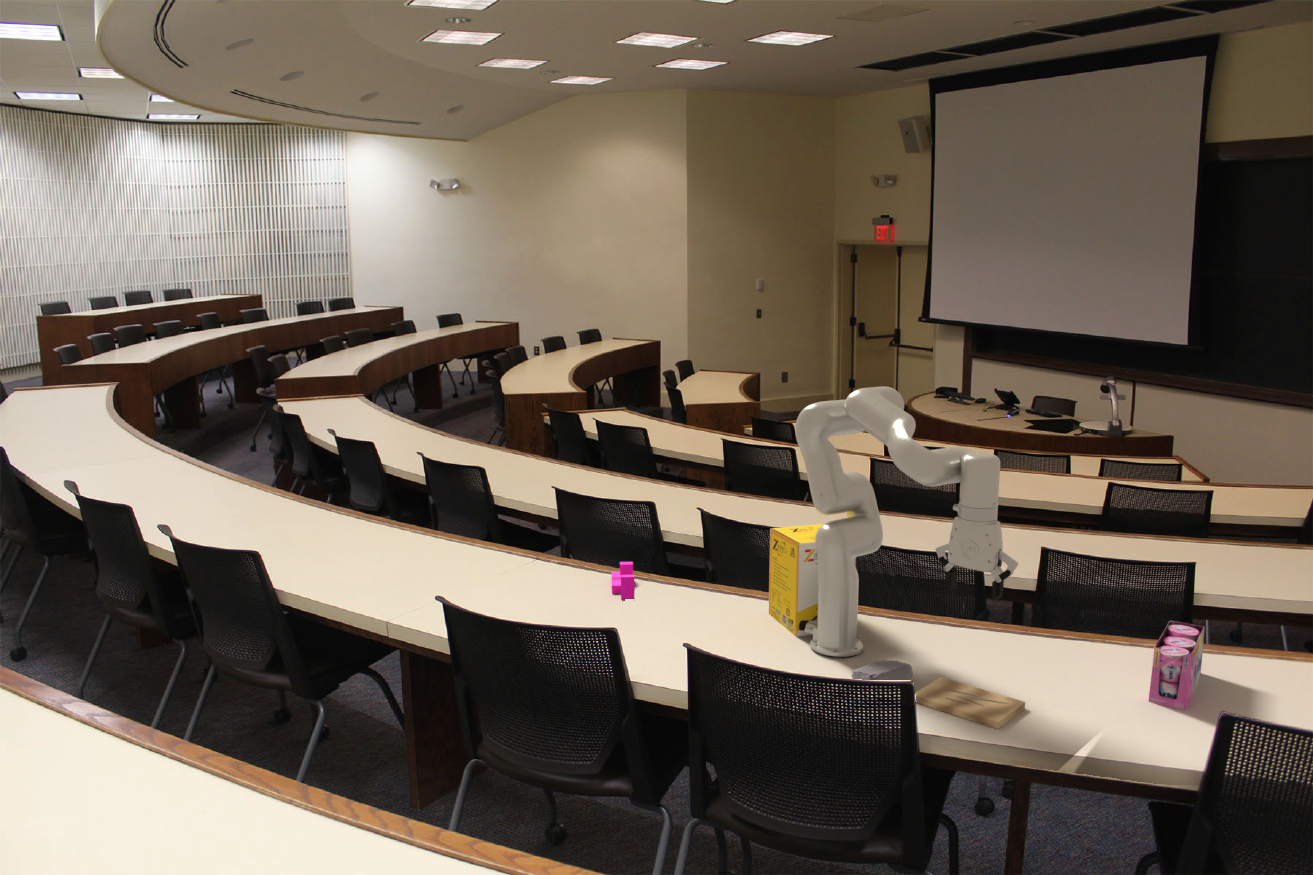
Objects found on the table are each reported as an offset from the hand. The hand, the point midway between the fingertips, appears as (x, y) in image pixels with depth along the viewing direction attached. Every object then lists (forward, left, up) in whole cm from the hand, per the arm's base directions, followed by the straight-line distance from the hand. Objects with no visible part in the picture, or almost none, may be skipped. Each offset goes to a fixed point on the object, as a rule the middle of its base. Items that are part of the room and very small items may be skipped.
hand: (973, 594), depth 199 cm
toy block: (-106, +3, -25) cm, 109 cm away
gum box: (+30, +37, -25) cm, 54 cm away
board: (0, 0, -24) cm, 24 cm away
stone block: (-24, -1, -22) cm, 33 cm away
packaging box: (-51, +17, -25) cm, 59 cm away
